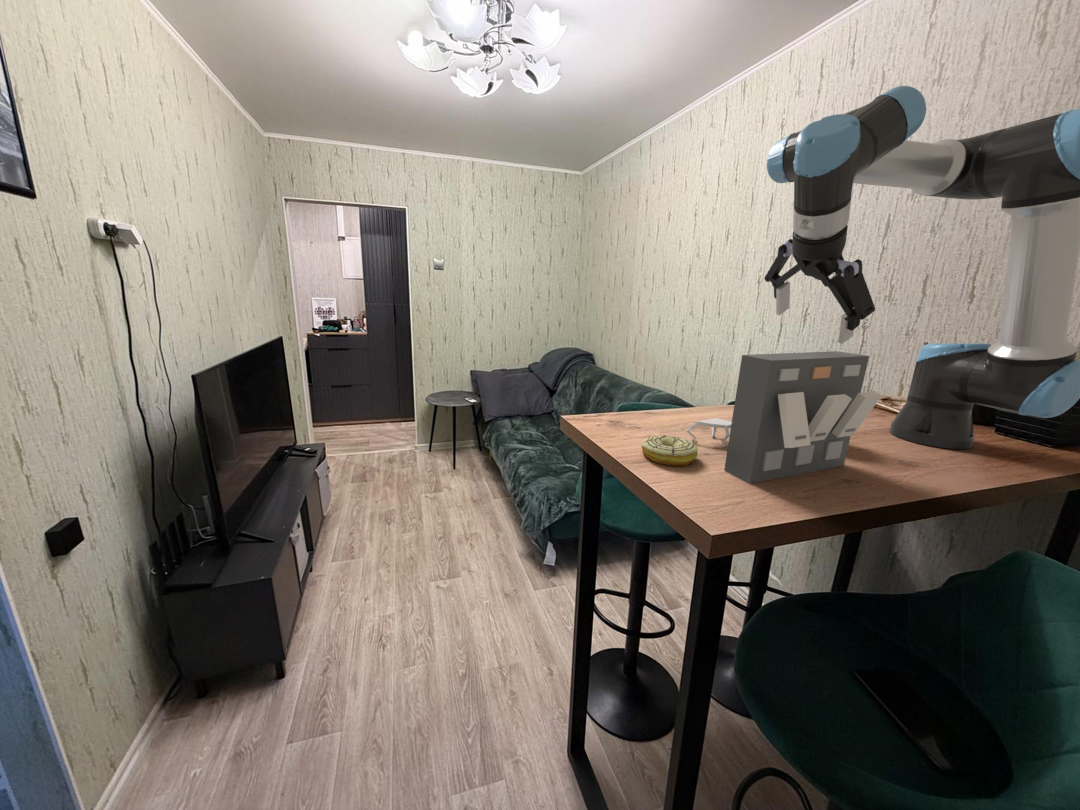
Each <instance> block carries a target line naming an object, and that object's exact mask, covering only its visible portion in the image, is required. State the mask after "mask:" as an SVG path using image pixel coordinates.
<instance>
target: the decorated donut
mask: <svg viewBox="0 0 1080 810" xmlns="http://www.w3.org/2000/svg"><path fill="white" fill-rule="evenodd" d="M640 447H641V450H642V454H643V455H644V456H645V457H646V458H648V459H650V461H652V462H655V463H656V464H657V463H658V464H660V465H665V466H671V467H682V466H687V465H689V464H690V463H692V462H694V461H695V460H696V458H697V457H698V450H699V449H698V446H697V445H696V444H695V443H694V442H692V440H689V439H685V438H683V437H678V436H672V435H653V436H648V437H646V438H644V439H643V441H642V442H641V444H640Z"/></svg>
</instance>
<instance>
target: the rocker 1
mask: <svg viewBox="0 0 1080 810" xmlns="http://www.w3.org/2000/svg"><path fill="white" fill-rule="evenodd" d="M778 402H779V409H780V417H781V424H782V432H783V439H784V447H785V448H795V447H801V446H808V445H811V443H810V436H809V428H808V421H807V413H806V406H805V399H804V392H797V393H786V394H778Z"/></svg>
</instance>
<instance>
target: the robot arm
mask: <svg viewBox="0 0 1080 810" xmlns="http://www.w3.org/2000/svg"><path fill="white" fill-rule="evenodd" d="M926 115H927V103H926V99H925V96H924V95H923V94H922V92H921V91H920V90H918V89H917V88H915V87H913V86H908V85H899V86H896V87H892V88H890V89H889V90H888V91H885V92H883V93H881V94H879V95H877V96H876V97H875V98H874V99H873V100H872V101H871V102H869V103H867V104H865V105H863V106H860V107H858V108H855V109H853V110H851V111H848V112H846V113H840V114H833V115H832V114H831V115H827V116H825V117H822V118H821V119H820V120H816V121H813V122H811V123H809V124H808V125H806V126H805V127H804V128H803V129H802V130H799V131H797V132H793V133H790V134H789V135H787V136H786V137H784V138H782V139H780V140H778V141H776V143H774V144H773V145H772V146H771V148H770V150H769V151H768V154H767V159H766V171H767V173H768V176H769V178H770V179H771V180H772V181H773V182H775V183H778V184H786V183H793V216H792V217H793V219H792V221H793V222H792V229H793V231H792V238H789V239H788V240H786V241H785V242H784V243H782V244H781V245H779V247H778V248H777V256H776V257H775V259H774V261H773V262H772V265H770V268H769V269H768V271H767V273H766V274H765V276H764V277H763V279H764V281H765V282H767V283H769V282H770V283H771V285H772V287H773V297H774V299H776V300H775V305H776V306H775V307H776V308H775V309H776V311H775V313H776V315H778V316H781V315H782V314H783V313H785V312H786V311H787V310H789V309H790V305H791V303H790V302H791V301H790V300H791V282H790V281H787V280H789V279H790V278H792V277H793V276H795V275H796V274H798V273H799V272H800V271H801V272H802V273H803V275H804V276H807V277H812V278H814V279H815V280H818V281H821V283H822V284H823V286H824V287H826V288H828V289H829V290H830V292H831V294H832V295H833V297H834V298H835V300H836V301H837V302H838V304H839V306H840V307H841V309H842V310H843V312H844V314H842V315H841V319H840V325H839V335H838V341H837V343H838V344H841V345H843V344H844V343H845V342H847V341H849V340H850V339H851V338H852V337H854V332H855V330H856V329H857V328H858V327H859V326H861V325H860V324H861V320H864V319H866V318H868V317H869V316H870V315H871V314H873V313H874V312H875V311H876V306H875V304H874V301H873V299H872V296H871V293H870V290H869V288H868V285H867V282H866V279H865V276H864V273H863V261H862V260H861V259H860V258H859V259H858V258H856V259H855V260H854V261H847V260H845V259H844V256H843V252H844V249H845V247H846V243H847V235H848V229H849V228H848V227H849V226H848V224H849V221H850V214H851V213H850V212H851V204H852V203H851V202H852V193H853V188H854V187H853V186H854V184H857V185H867V186H868V185H869V186H880V187H881V186H882V187H891V188H900V189H910V190H911V191H912V192H913V193H914V194H916V195H918V196H927V197H935V198H944V199H945V198H946V199H953V200H954V199H956V200H988V199H996V198H1001V205H1000V210H1001V211H1003V212H1004V213H1006V214H1008V215H1009V216H1011V224H1010V234H1009V243H1008V252H1007V263H1006V273H1005V282H1004V290H1003V291H1004V292H1003V303H1002V311H1001V321H1000V330H999V340H998V341H996V342H995V343H993V344H991V343H987V342H986V343H981V342H979V343H974V342H973V343H927V344H925V345H923V346H922V347H921V349H919V350H920V351H919V354H918V356H917V358H916V360H915V365H914V371H913V375H912V378H911V382H910V385H909V389H908V394H907V397H906V402H905V403H904V405H903V406H902V407H901V410H899V412H898V413H897V414H896V416H895V418H894V419H893V420H892V422H891V423H890V425H889V426H890V427H889V430H888V431H889V433H890V434H891V435H893V436H895V437H898V438H899V439H902V440H904V441H905V440H906V441H908V442H912V443H915V444H916V443H917V444H920V445H924V446H925V445H926V446H930V447H934V448H940V449H941V448H942V449H950V450H952V449H953V450H968V449H971V448H972V447H973V444H974V441H975V437H976V436H975V434H974V433H975V431H974V424H973V423H974V422H973V416H972V412H973V408H974V405H979V406H984V407H988V408H993V409H996V410H1001V411H1006V412H1010V413H1015V414H1018V415H1021V416H1031V417H1037V418H1043V419H1049V418H1055V417H1057V416H1061V415H1062V414H1064V413H1065V412H1067V411H1068V410H1069V409H1071V408H1072V407H1073V406H1074V405H1075V404H1077V402H1078V401H1079V400H1080V359H1079V360H1078V359H1077V360H1076V358H1077V351H1078V347H1077V346H1076V345H1075V344H1074V343H1072V342H1071V341H1069V340H1067V335H1068V334H1067V333H1068V327H1069V320H1070V313H1071V307H1072V302H1073V301H1072V300H1073V294H1074V289H1075V283H1076V276H1077V270H1078V269H1077V268H1078V263H1079V258H1080V257H1079V256H1080V108H1078V109H1077V108H1076V109H1069V110H1067V111H1065V112H1062V113H1057V114H1054V115H1051V116H1047V117H1044V118H1043V117H1042V118H1040V119H1039V118H1038V119H1036V120H1032V121H1029V122H1024V123H1021V124H1017V125H1013V126H1010V127H1007V128H1001V129H997V130H994V131H990V132H987V133H983V134H980V135H975V136H972V137H967V138H961V139H960V138H959V139H953V138H946V139H941V140H937V141H935V142H933V143H929V142H923V141H916V140H914V141H913V140H908V139H909V138H910V137H911V136H912V135H914V134H915V133H916V132H917V131H919V129H920V128H921V126H922V124H923V123H924V121H925V119H926ZM791 256H792V257H793V258H794V261H795V262H796V264H795V265H794V266H792V268H790V269H789V270H787V271H786V272H784V274H782V275H780V274H781V273H780V272H781V271H782V270H783V268H784V266H785V265H786V263H788V260H789V259H790V257H791ZM834 273H835V275H834V276H832V277H831V278H830V276H831V275H833V274H834Z"/></svg>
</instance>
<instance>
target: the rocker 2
mask: <svg viewBox="0 0 1080 810" xmlns="http://www.w3.org/2000/svg"><path fill="white" fill-rule="evenodd" d="M881 397H882V394H880V393H878V392H877V391H875V390H874V391H865V392H862V391H861V393H858V394H857V396H856V397H855V399H854V400H853V402H852V403H851V405H850V406H849V408H848V409H847V411H846V412H845V413H844V415H843V416H842V418H841V419H840V421H839V422H838V424H837V425H836V427H835V428H834V430H833V431H832V434H833V435H835V436H836V437H845V436H851V437H852V436H854V435H855V434H856V432H857V431H858V429H859V428H860V427H861V425H862V424H863V422H864V421H865V419H866V418H867V417H868V416H869V414H870V413H871V411H872V410H873V409H874V408H875V406H876V404H877V403H878V401H879V400H880V399H881Z"/></svg>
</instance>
